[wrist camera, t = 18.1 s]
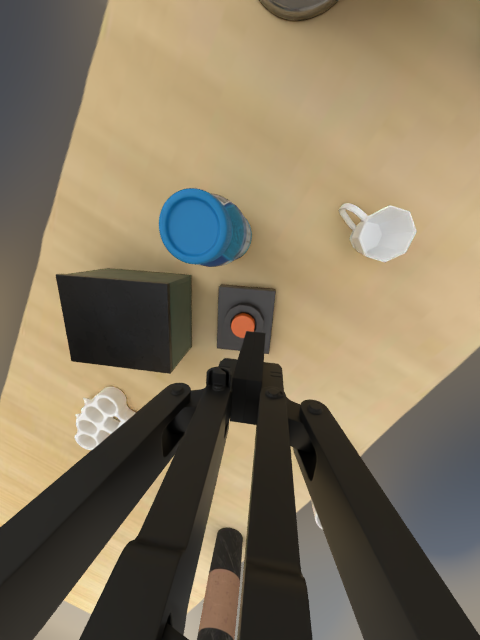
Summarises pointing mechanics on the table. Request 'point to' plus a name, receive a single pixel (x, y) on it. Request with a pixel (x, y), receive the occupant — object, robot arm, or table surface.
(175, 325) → the green box
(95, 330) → the box lid
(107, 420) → the white holed block
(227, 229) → the beverage bottle
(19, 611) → the robot arm
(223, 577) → the travel mug
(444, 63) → the table surface
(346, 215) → the cup
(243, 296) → the control pad
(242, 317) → the button
